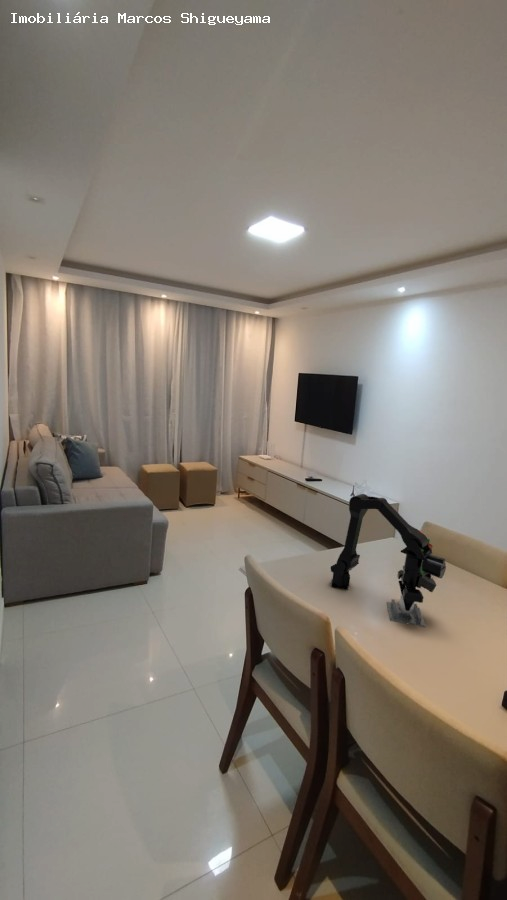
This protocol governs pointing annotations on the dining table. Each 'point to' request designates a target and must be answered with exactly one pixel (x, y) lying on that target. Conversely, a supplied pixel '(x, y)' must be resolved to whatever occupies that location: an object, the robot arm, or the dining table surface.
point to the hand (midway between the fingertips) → (406, 606)
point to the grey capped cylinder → (402, 606)
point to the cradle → (405, 615)
